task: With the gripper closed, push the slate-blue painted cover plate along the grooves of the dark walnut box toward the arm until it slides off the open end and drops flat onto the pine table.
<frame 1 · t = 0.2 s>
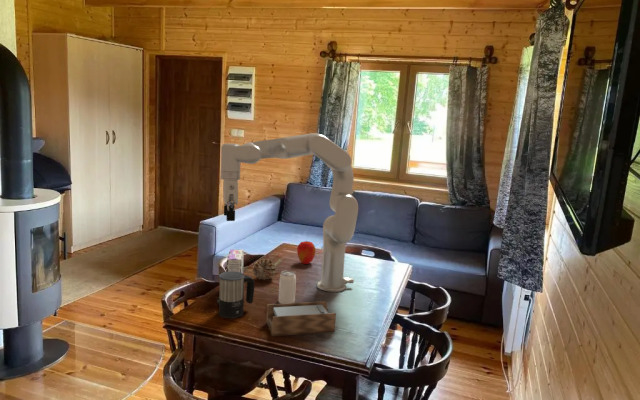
hand: (229, 218, 195), 31 cm above the table, fingers open, 9 cm apart
cover plate: (300, 315, 171), point 4 cm above the table, touching walnut box
walnut box: (300, 327, 172), on the table
candy box: (234, 292, 201), on the table
milk frother: (228, 309, 184), on the table
pine cone: (268, 277, 222), on the table
apple: (305, 263, 245), on the table
can: (286, 302, 194), on the table
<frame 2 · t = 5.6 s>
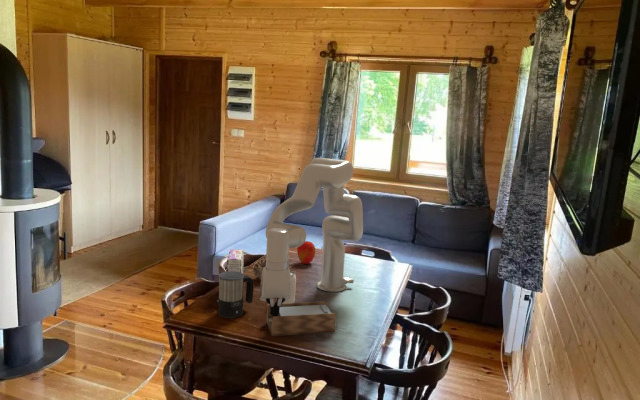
hand: (274, 315, 169), 5 cm above the table, fingers closed
cover plate: (304, 314, 172), point 5 cm above the table
everything else where it was.
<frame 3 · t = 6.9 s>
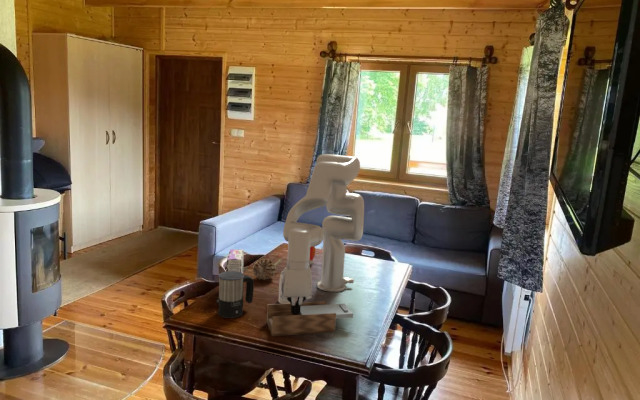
hand: (295, 314, 171), 5 cm above the table, fingers closed
cover plate: (324, 313, 174), point 5 cm above the table, touching gripper, walnut box
everything else where it was.
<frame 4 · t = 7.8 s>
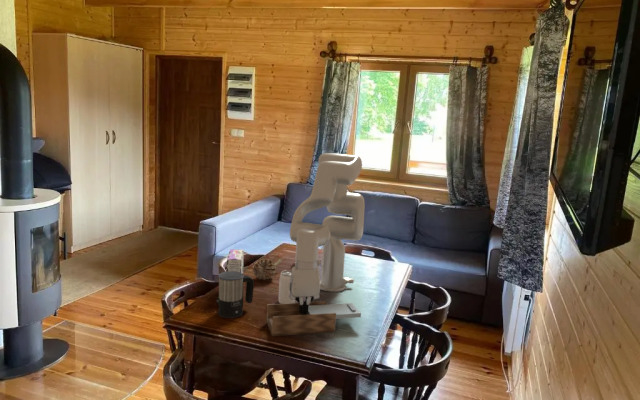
hand: (303, 314, 171), 5 cm above the table, fingers closed
cover plate: (332, 313, 174), point 4 cm above the table, touching gripper, walnut box
everything else where it was.
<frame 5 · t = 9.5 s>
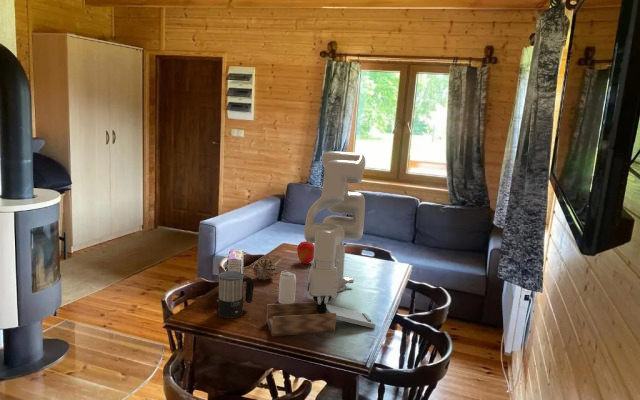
hand: (320, 313, 173), 5 cm above the table, fingers closed
cover plate: (347, 317, 176), point 3 cm above the table, tilted 17°
everything else where it was.
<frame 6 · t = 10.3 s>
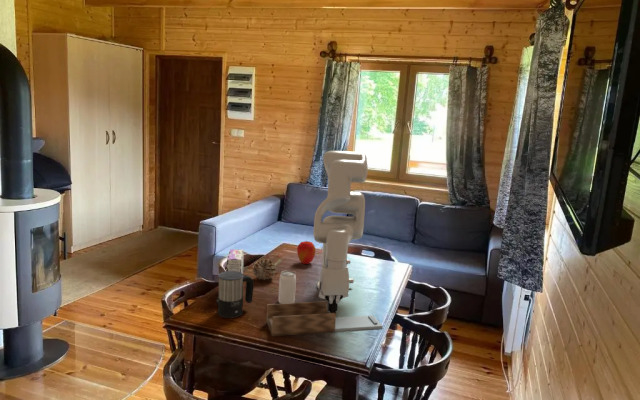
hand: (332, 312, 175), 5 cm above the table, fingers closed
cover plate: (354, 325, 177), on the table
everything else where it was.
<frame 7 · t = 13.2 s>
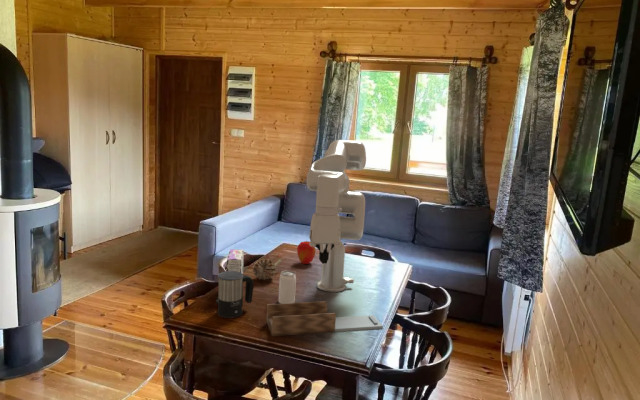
hand: (323, 262, 170), 23 cm above the table, fingers closed
nothing on the table moved.
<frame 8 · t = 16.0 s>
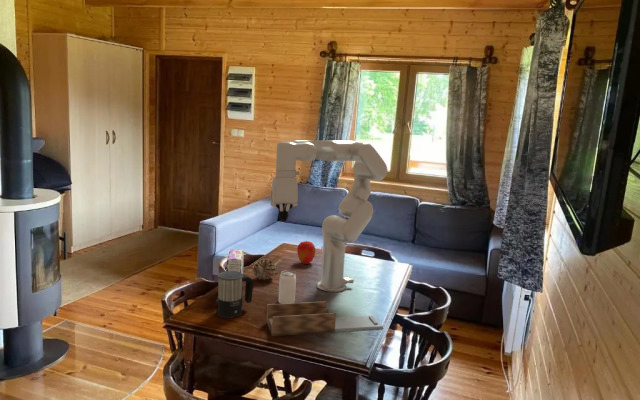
hand: (283, 220, 191), 32 cm above the table, fingers closed
nothing on the table moved.
at the end: cover plate inside the target area (1.5 cm from its centre), on the table; cover plate touching table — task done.
